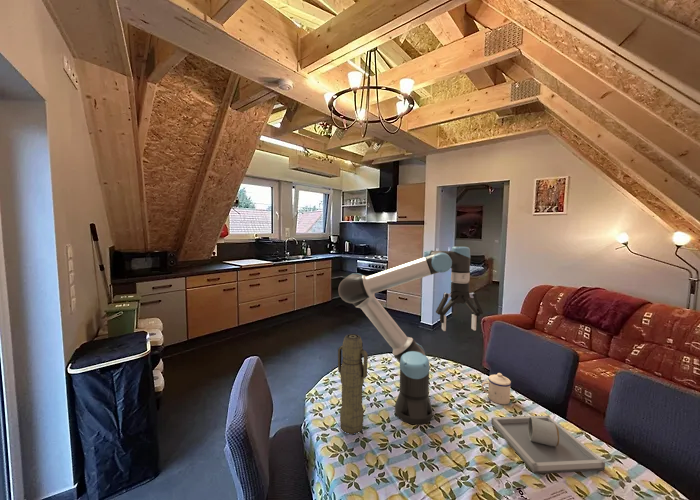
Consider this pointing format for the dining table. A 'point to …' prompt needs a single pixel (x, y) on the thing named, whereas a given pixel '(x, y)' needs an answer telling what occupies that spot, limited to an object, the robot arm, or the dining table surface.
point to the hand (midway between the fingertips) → (458, 329)
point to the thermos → (352, 383)
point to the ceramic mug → (543, 432)
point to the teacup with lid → (498, 389)
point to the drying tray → (547, 448)
